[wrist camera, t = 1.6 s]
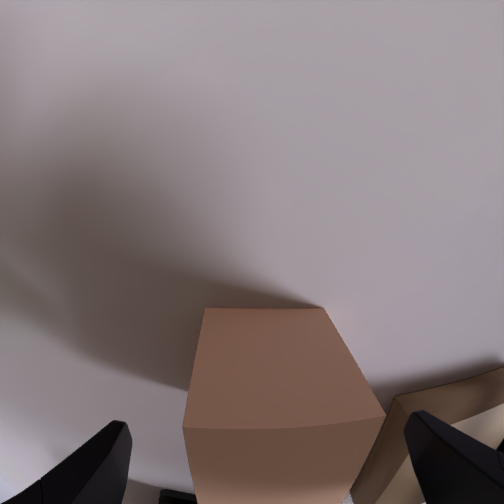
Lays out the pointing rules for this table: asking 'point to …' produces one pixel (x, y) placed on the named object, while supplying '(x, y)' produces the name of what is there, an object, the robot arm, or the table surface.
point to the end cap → (176, 497)
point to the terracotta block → (276, 409)
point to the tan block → (446, 409)
